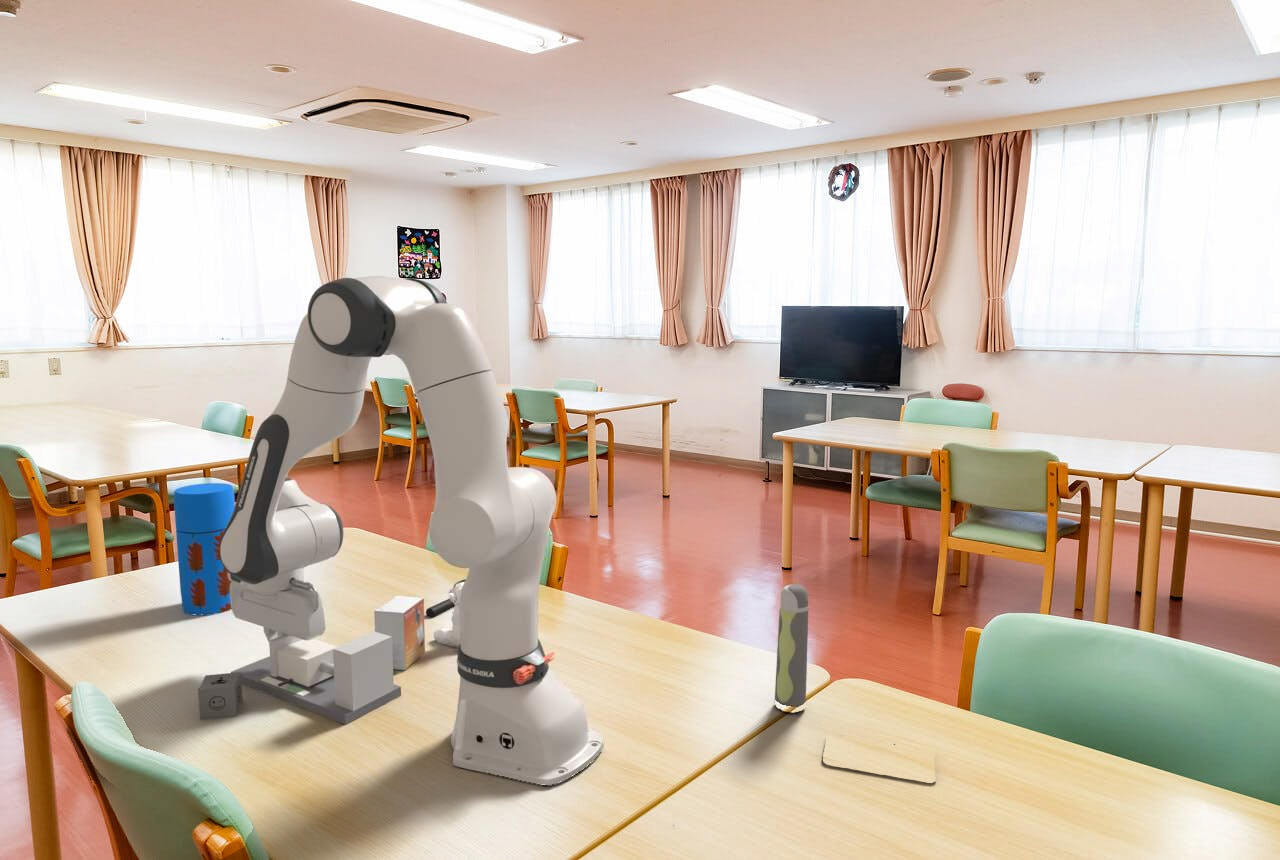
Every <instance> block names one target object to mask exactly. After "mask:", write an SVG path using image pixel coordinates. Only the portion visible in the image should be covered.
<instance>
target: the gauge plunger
mask: <svg viewBox="0 0 1280 860" xmlns="http://www.w3.org/2000/svg"><path fill="white" fill-rule="evenodd" d="M268 644H269V656H270V664H271V675H272V676H274V677H277V676H280V677H283V678H286V679H288V680H286V681H284V682H281V683H279V684H278V686H279V687H280V686H282V685H285V684H287V683H289V682H292V681H294V682H297V683H299V684H302V685H305V686H307V687H309V686H311V685H313V684H316V683H318V682H320V681H322V680H324V679H327V678H329V677H331V676H334V660H333V649H334V648H336V647H338V646H336V645H332V644H330V643H327V642H324V641H322V640H318V639H316V638H314V639H311V640H308V641H306V640H302V639H299V638H296V637H293V636H290V635H287V634H285V635H282V636H280V637H277V638H275V639H272V640H269V642H268Z"/></svg>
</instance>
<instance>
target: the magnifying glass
mask: <svg viewBox="0 0 1280 860" xmlns="http://www.w3.org/2000/svg"><path fill="white" fill-rule="evenodd" d="M465 580H466V578H464V579H462V580H459V581H457V582H455V583H454V585H453V588H452V590H453V589H454V587H455V586H456V584H459V583H462V582H465ZM454 606H456V605H454V603H453V602H452V601H451V600H450V597H449V598H447V599H446V600H445V599H444V600H443V601H441V602H438V603H436V604H435V605H432V606H430V607H427V609H426V611H425V614H426V617H428V618H431V619H433V618H435V617H437V616H440V615H441V614H444V613H445V612H448V611H450V610H451V609H453V608H454ZM452 607H453V608H452ZM450 608H451V609H450Z"/></svg>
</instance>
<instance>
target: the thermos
mask: <svg viewBox="0 0 1280 860" xmlns="http://www.w3.org/2000/svg"><path fill="white" fill-rule="evenodd" d="M233 487H234V486H233V485H232V484H229V483H221V482H211V483H196V484H190V485H189V484H188V485H186V486H181V487H178V488H176V489H174V492H173V506H174V507H173V509H174V519H175V534H176V535H175V536H176V547H177V548H176V549H177V560H178V562H177V563H178V573H179V576H178V578H179V588H180V596H181V597H180V599H181V604H182V611H183V610H184V611H183V613H184V612H185V613H184V614H187V613H188V614H187V615H189V614H196V615H195V616H208V615H207V614H211V615H215V614H214V613H218V614H221V613H220V612H222V613H225V612H224V611H226V612H228V611H231V610H232V609H231V601H230V584H231V582H232V581H230V580H229V579H228V573H227V571H226V570H225V568H224V567H223V565H222V562H221V559H220V553H219V546H220V541H221V537H222V535H223V532H224V530H225V528H226V526H227V524H228V522H229V520H230V518H231V516H232V513H233V511H234V508H235V504H236V501H235V492H234V488H233ZM230 609H231V610H230ZM227 610H228V611H227ZM201 614H203V615H201Z"/></svg>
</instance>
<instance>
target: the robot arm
mask: <svg viewBox="0 0 1280 860" xmlns="http://www.w3.org/2000/svg"><path fill="white" fill-rule="evenodd" d="M389 355H390V356H391V355H394V356H395V357H397V358H399V359H400V360H401V362H403V364H404V366H405V367H406V369H407V372H408V375H409V379H410V381H411V385H412V387H413V391H414V394H415V397H416V399H417V400H416V401H417V404H418V407H419V409H420V413H421V416H422V419H423V422H424V425H425V428H426V432H427V434H428V439H429V441H430V445H431V450H432V456H433V464H434V465H433V466H434V478H435V479H434V480H435V502H434V508H433V510H432V511H433V512H432V513H431V517H430V520H429V525H428V535H429V538H430V542H431V545H432V547H433V548H434V551H435V552H436V554H437V555H438V556H439V558H441V560H443V561H444V562H445V563H447V564H448V565H450V566H452V567H455V568H460V569H468V572H467V575H466V577H465V579H466V580H465V582H464V584H463V586H462V589H461V593H460V644H459V646H458V648H457V658H456V664H457V673H458V675H459V677H460V679H459V691H458V700H457V701H458V702H457V710H456V715H455V716H456V717H455V721H454V726H453V729H452V732H451V736H450V745H451V747H452V749H453V753H452V764H453V766H455V767H458V768H463V769H467V770H470V771H476V772H481V773H484V772H485V774H488V773H491V774H490V775H493V774H494V775H493V776H497V775H499V776H498V777H502V776H505V777H504V778H506V777H509V778H508V779H511V778H515V779H518V780H517V781H520V780H523V781H522V782H524V781H528V782H527V783H529V782H533V783H539V784H545V785H550V786H552V785H551V784H554V785H556V784H555V783H558V782H560V781H563V780H566V779H567V778H569V777H571V776H572V775H574V774H576V773H577V772H579V771H581V770H582V769H583V768H585V767H586V766H587V765H588V764H590V762H592V761H593V760H594V759H595V758H596V757H597V755H598V754H599V753H600V752H601V753H602V751H603V749H602V748H604V745H603V741H604V736H603V734H601V733H599V732H597V731H595V729H592V728H590V727H588V720H587V714H586V710H585V707H584V705H583V703H582V702H581V701H580V699H578V698H577V697H576V696H575V695H574V693H573V692H572V690H570V689H569V688H567V687H566V686H565V685H564V683H562V682H561V680H559V678H557V677H556V676H555V674H554V673H553V672H552V671H551V670H550V669H549V668H550V667H549V663H550V662H552V661H554V659H555V658H554V657H553V656H554V654H555V652H554V651H553V652H550V653H549V654H546V655H545V651H544V648H543V646H542V643H541V641H540V639H539V590H540V582H541V581H540V580H541V577H542V576H541V575H542V569H543V565H544V564H543V563H544V558H545V552H546V546H547V540H548V534H549V529H550V528H549V527H550V523H551V520H552V518H553V515H554V512H555V510H556V506H557V493H556V490H555V487H554V485H553V482H552V481H551V480H550V478H548V476H547V475H546V474H545V473H543V472H542V471H540V470H537V469H536V468H532V467H525V466H514V467H513V466H512V467H511V466H510V467H509V463H508V451H507V447H508V446H507V439H508V434H509V430H510V420H509V416H508V413H507V411H506V408H505V405H504V401H503V399H502V395H501V392H500V389H499V386H498V382H497V380H496V377H495V374H494V371H493V368H492V365H491V362H490V359H489V356H488V355H487V352H486V349H485V347H484V345H483V343H482V340H481V339H480V335H479V334H478V332H477V330H476V329H475V327H474V325H473V322H472V321H471V320H470V318H469V316H468V314H467V312H465V310H463V309H462V308H461V307H459V306H457V305H454V304H451V303H448V301H447V300H446V298H445V296H444V294H443V293H442V292H441V290H439V289H438V287H436V286H435V285H433V284H432V283H429V282H427V281H424V280H420V279H417V278H412V277H411V278H410V277H408V278H407V277H406V278H399V277H387V276H384V275H383V276H382V275H374V276H373V275H371V276H362V277H361V276H360V277H356V278H354V277H353V278H352V277H343V278H338V279H335V280H330V281H328V282H326V283H324V284H322V285H321V286H319V287H318V288H317V289H316V290H315V291H314V292H313V294H312V295H311V297H310V300H309V303H308V306H307V314H306V315H304V316H303V318H302V320H301V321H300V324H299V327H298V330H297V332H296V336H295V339H294V343H293V346H292V350H291V353H290V359H289V365H288V370H287V371H288V372H287V379H286V383H285V386H284V390H283V393H282V395H281V398H280V399H279V401H278V403H277V405H276V407H275V408H274V410H273V411H272V412H271V414H270V415H269V416H268V417H267V418H266V419H264V420H263V421H262V423H261V424H260V425H259V427H258V429H257V432H256V434H255V436H254V439H253V443H252V446H251V449H250V452H249V456H248V459H247V463H246V465H245V466H246V467H245V470H244V472H243V476H242V480H241V483H240V487H239V490H238V494H237V498H236V501H235V508H234V511H233V513H232V516H231V518H230V520H229V522H228V524H227V526H226V528H225V530H224V532H223V535H222V537H221V541H220V546H219V553H220V559H221V562H222V565H223V567H224V568H225V570H226V571H227V573H228V579H229V580H230V581H232V582H231V584H230V601H231V611H232V614H233V616H234V617H235V619H239V620H241V621H244V622H247V623H250V624H253V625H257V626H260V627H263V633H264V636H265V638H266V640H267V641H268V643H269V640H272V639H275V638H277V637H280V636H282V635H285V634H287V635H290V636H293V637H296V638H299V639H302V640H306V641H308V640H311V639H316V638H319V637H321V636H322V635H324V633H325V631H326V628H327V627H326V617H325V610H324V606H323V600H322V597H321V595H320V593H319V592H318V590H317V589H316V587H314V585H313V584H312V582H308V581H305V571H304V570H305V568H306V567H308V566H311V565H315V564H318V563H321V562H324V561H327V560H329V559H331V558H333V557H335V556H336V555H337V554H338V553H339V551H340V549H341V547H342V546H343V541H344V525H343V521H342V518H341V516H340V514H338V512H337V511H336V510H335V509H334V508H333V507H332V506H330V505H329V504H326V503H322V502H321V503H320V502H318V501H317V500H314V499H313V498H311V497H309V496H308V495H306V494H305V493H304V492H302V490H301V489H300V487H299V484H298V483H297V481H296V480H295V479H292V478H290V477H287V475H288V474H289V472H290V471H291V469H293V467H294V466H296V464H297V463H298V462H299V461H301V460H302V459H303V458H304V457H306V456H307V455H308V454H311V453H312V452H313V451H315V450H317V449H319V448H321V447H323V446H324V445H327V444H328V443H332V442H333V441H335V440H338V438H340V437H341V436H343V435H345V434H347V432H349V431H350V430H351V428H353V427H354V425H356V423H357V421H358V418H359V416H360V414H361V412H362V409H363V405H364V399H365V391H366V383H367V377H368V369H369V365H370V362H371V359H372V358H381V357H382V356H389ZM601 750H602V751H601ZM601 753H600V754H601ZM600 754H599V755H600ZM597 758H598V757H597ZM597 758H596V759H597ZM596 759H595V760H596ZM595 760H594V761H595ZM594 761H593V762H594ZM593 762H592V763H593ZM590 765H591V764H590ZM586 768H587V767H586ZM586 768H585V769H586ZM581 772H582V771H581ZM515 779H514V780H515ZM566 781H567V780H566ZM563 782H564V781H563ZM533 783H532V784H533ZM558 784H559V783H558Z"/></svg>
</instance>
